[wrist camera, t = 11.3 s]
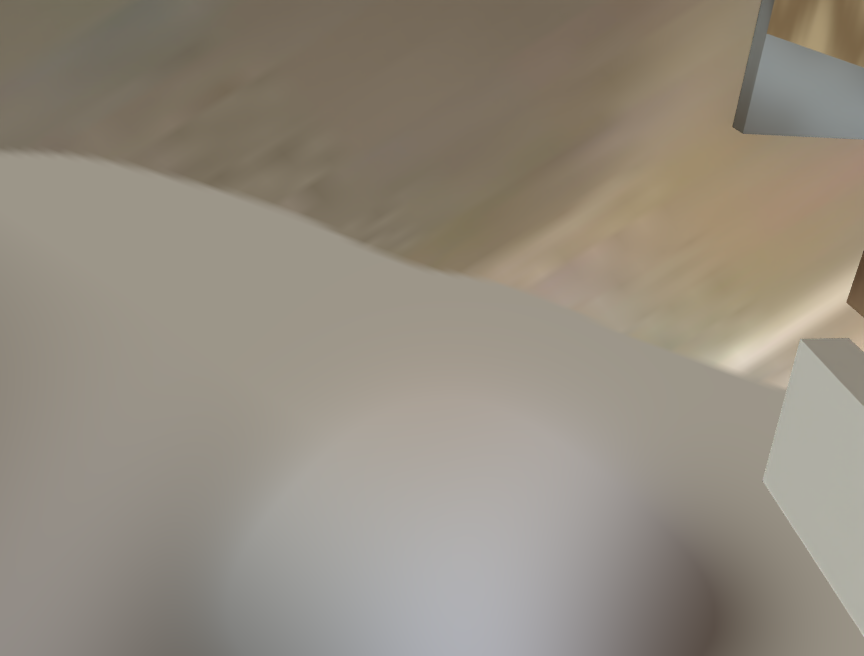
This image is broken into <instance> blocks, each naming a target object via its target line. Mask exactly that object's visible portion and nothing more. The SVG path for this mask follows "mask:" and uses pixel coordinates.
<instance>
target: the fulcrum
mask: <svg viewBox="0 0 864 656" xmlns="http://www.w3.org/2000/svg"><path fill="white" fill-rule="evenodd" d="M733 128H735V129H736V130H738V131H740V132H741V133H743V134H761V135H782V136H803V137H823V138H844V139H864V0H762V2H761V6H760V11H759V15H758V19H757V24H756V28H755V32H754V37H753V41H752V45H751V50H750V54H749V58H748V63H747V67H746V71H745V76H744V80H743V84H742V89H741V93H740V97H739V102H738V106H737V110H736V115H735V119H734V123H733Z"/></svg>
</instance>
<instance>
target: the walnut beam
mask: <svg viewBox="0 0 864 656" xmlns="http://www.w3.org/2000/svg"><path fill="white" fill-rule="evenodd" d="M846 303H848V304H849V305H850V306H851V307H852V308H853V309H855V310H856V311H857V312H858V313H859V314H860V315H861V316H863V317H864V251H863V254H862V257H861V260H860V263H859V266H858V269H857V272H856V275H855V278H854V281H853V284H852V287H851V290H850V293H849V296H848V299H847V302H846Z"/></svg>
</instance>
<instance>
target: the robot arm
mask: <svg viewBox="0 0 864 656" xmlns="http://www.w3.org/2000/svg"><path fill="white" fill-rule="evenodd" d="M763 482H764V484H765V485H766V487H767V488H768V490H769V492H770V493H771V495H772V496H773V498H774V499H775V501H776V502H777V504H778V505H779V507H780V509H781V510H782V512H783V513H784V515H785V516H786V518H787V519H788V521H789V522H790V524H791V526H792V527H793V529H794V530H795V532H796V533H797V535H798V536H799V538H800V539H801V540H802V542H803V544H804V545H805V547H806V549H807V550H808V552H809V553H810V555H811V556H812V557H813V559H814V561H815V563H816V564H817V565H818V567H819V569H820V570H821V572H822V573H823V575H824V576H825V578H826V579H827V581H828V583H829V584H830V586H831V587H832V589H833V590H834V592H835V593H836V595H837V596H838V598H839V600H840V601H841V603H842V604H843V606H844V607H845V609H846V610H847V612H848V613H849V615H850V616H851V618H852V619H853V621H854V622H855V624H856V626H857V627H858V629H859V630H860V631H861V633H862V635H863V636H864V352H863V351H862V350H861V349H860V348H859V347H858V346H857V345H855V344H854V343H853V342H852V341H851V340H850V339H849V338H823V339H800V342H799V346H798V350H797V354H796V357H795V361H794V365H793V369H792V372H791V376H790V380H789V384H788V387H787V391H786V395H785V399H784V402H783V406H782V410H781V414H780V418H779V421H778V425H777V429H776V433H775V436H774V440H773V444H772V447H771V451H770V455H769V459H768V462H767V466H766V470H765V474H764V477H763Z"/></svg>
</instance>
